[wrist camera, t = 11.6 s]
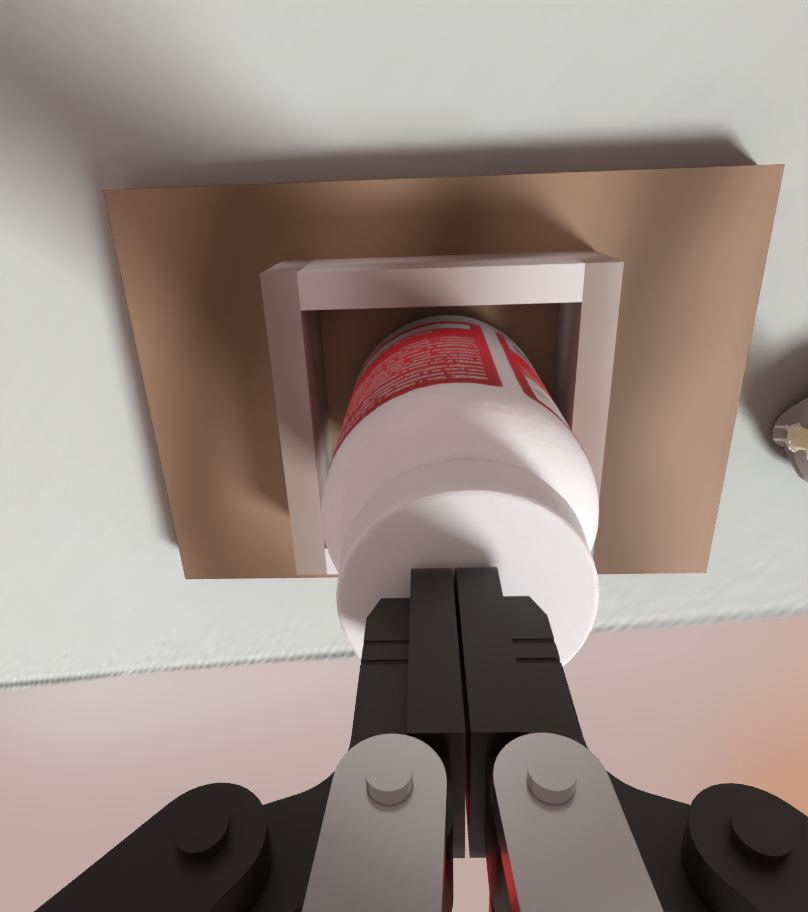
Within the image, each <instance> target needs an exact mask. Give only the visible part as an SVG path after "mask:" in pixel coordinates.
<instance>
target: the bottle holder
mask: <svg viewBox="0 0 808 912" xmlns="http://www.w3.org/2000/svg"><path fill="white" fill-rule="evenodd" d="M784 165H785V164H776V165H749V166H723V167H697V168H671V169H644V170H618V171H592V172H566V173H540V174H513V175H487V176H461V177H435V178H408V179H382V180H356V181H330V182H304V183H277V184H251V185H225V186H199V187H172V188H146V189H120V190H103V192H104V197H105V202H106V206H107V211H108V216H109V221H110V225H111V230H112V235H113V240H114V244H115V249H116V254H117V258H118V263H119V268H120V273H121V277H122V282H123V287H124V291H125V296H126V301H127V306H128V310H129V315H130V320H131V325H132V329H133V334H134V339H135V343H136V348H137V353H138V358H139V362H140V367H141V372H142V376H143V381H144V386H145V391H146V395H147V400H148V405H149V410H150V414H151V419H152V424H153V428H154V433H155V438H156V443H157V447H158V452H159V457H160V461H161V466H162V471H163V476H164V480H165V485H166V490H167V495H168V499H169V504H170V509H171V513H172V518H173V523H174V528H175V532H176V537H177V542H178V546H179V551H180V556H181V561H182V565H183V570H184V575H185V579H238V578H319V577H339V573H338V572H337V570H336V568H335V566H334V564H333V562H332V560H331V557H330V555H329V552H328V549H327V546H326V543H325V539H324V534H323V528H322V516H321V507H322V497H323V491H324V486H325V482H326V477H327V474H328V471H329V467H330V463H331V460H332V457H333V454H334V451H335V448H336V445H337V442H338V438H339V435H340V432H341V428H342V426H343V422H344V419H345V416H346V413H347V410H348V406H349V403H350V400H351V397H352V393H353V390H354V387H355V383H356V381H357V378H358V375H359V373H360V371H361V369H362V367H363V365H364V363H365V361H366V359H367V358H368V357H369V355H370V354H371V352H372V351H373V350H374V349H375V347H376V346H377V345H378V344H379V343H380V342H381V341H382V340H384V339H385V338H386V337H387V336H388V335H389V334H391V333H392V332H394V331H395V330H397V329H399V328H401V327H402V326H404V325H406V324H408V323H410V322H413V321H416V320H418V319H422V318H426V317H431V316H440V315H453V316H464V317H469V318H473V319H476V320H479V321H482V322H484V323H487V324H489V325H491V326H492V327H494V328H496V329H498V330H500V331H501V332H503V333H504V334H506V335H507V336H508V337H509V338H510V339H512V340H513V341H514V343H515V344H516V345H517V346H518V347H519V348H520V349H521V350H522V351H523V353H524V354H525V355H526V357H527V358H528V360H529V361H530V363H531V364H532V366H533V368H534V369H535V371H536V373H537V375H538V376H539V378H540V380H541V382H542V383H543V385H544V386H545V388H546V390H547V391H548V393H549V395H550V396H551V398H552V400H553V401H554V403H555V405H556V406H557V408H558V409H559V411H560V413H561V414H562V416H563V418H564V420H565V421H566V423H567V424H568V426H569V427H570V429H571V431H572V432H573V434H574V435H575V437H576V438H577V440H578V442H579V443H580V444H581V446H582V448H583V450H584V453H585V455H586V457H587V459H588V462H589V464H590V466H591V469H592V472H593V475H594V478H595V482H596V486H597V492H598V500H599V519H598V529H597V534H596V538H595V541H594V544H593V547H592V550H591V555H592V558H593V560H594V563H595V567H596V571H597V574H645V573H706V570H707V565H708V559H709V554H710V549H711V544H712V539H713V534H714V528H715V523H716V518H717V513H718V508H719V502H720V497H721V492H722V487H723V482H724V476H725V471H726V466H727V461H728V456H729V451H730V445H731V440H732V435H733V430H734V425H735V419H736V414H737V409H738V404H739V399H740V393H741V388H742V383H743V378H744V373H745V368H746V362H747V357H748V352H749V347H750V342H751V336H752V331H753V326H754V321H755V316H756V310H757V305H758V300H759V295H760V290H761V285H762V279H763V274H764V269H765V264H766V259H767V253H768V248H769V243H770V238H771V233H772V227H773V222H774V217H775V212H776V207H777V202H778V196H779V191H780V186H781V181H782V176H783V170H784Z"/></svg>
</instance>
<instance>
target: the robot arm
mask: <svg viewBox="0 0 808 912" xmlns="http://www.w3.org/2000/svg"><path fill="white" fill-rule="evenodd" d="M465 799H466V811H467V826H468V840H469V853H470V858H471V857H472V858H475V857H478V858H479V857H480V858H484V857H485V858H486V860H487V871H488V881H489V891H490V893H489V912H808V817H807V816H806V815H804V814H803V813H802V812H800V811H799V810H797V809H796V808H794V807H793V806H791V805H790V804H788V803H786V802H785V801H783V800H782V799H780V798H778V797H777V796H775V795H772V794H770V793H768V792H766V791H763V790H761V789H758V788H755V787H752V786H747V785H742V784H733V783H729V784H728V783H727V784H718V785H714V786H711V787H708V788H706V789H704V790H703V791H701V792H700V793H699V794H698V795H697V796H696V797H695V798H694V800H693V801H692V804H691V805H689V804H685V803H681V802H678V801H675V800H671V799H667V798H664V797H661V796H657V795H653V794H650V793H647V792H644V791H641V790H638V789H636V788H633V787H631V786H629V785H627V784H625V783H623V782H622V781H620V780H619V779H617V778H615V777H614V776H613V775H611V774H610V773H609V772H607V771H606V770H605V768H604V766H603V765H602V763H601V762H600V761H599V759H598V758H597V757H596V756H595V755H594V754H593V753H592V752H591V751H590V750H589V749H588V747H587V746H586V743H585V741H584V738H583V735H582V731H581V728H580V725H579V722H578V718H577V714H576V711H575V707H574V704H573V701H572V697H571V694H570V691H569V687H568V684H567V681H566V677H565V673H564V670H563V667H562V663H560V656H559V653H558V650H557V646H556V643H554V636H553V633H552V629H551V626H550V622H549V619H548V615H547V614H546V613H545V612H544V611H543V610H542V609H541V608H540V607H539V606H538V605H537V604H536V603H535V601H534V600H533V599H532V598H531V597H530V596H503V593H502V588H501V583H500V578H499V573H498V569H497V567H469V568H455V598H454V585H453V573H452V568H419V569H411V582H410V598H381V599H380V600H379V602H378V603H377V604H376V606H375V607H374V608H373V610H372V611H371V612H370V614H369V615H368V616H367V618H366V625H365V633H364V645H363V649H362V657H361V665H360V673H359V681H358V689H357V697H356V705H355V712H354V721H353V728H352V736H351V742H350V747H349V749H348V752H347V753H346V754H345V755H344V756H343V758H342V759H341V761H340V762H339V764H338V766H337V767H336V770H335V772H334V773H332V774H331V775H330V776H329V777H328V778H327V779H326V780H324V781H323V782H321V783H320V784H319V785H317V786H315V787H313V788H311V789H309V790H307V791H305V792H302V793H300V794H297V795H293V796H290V797H287V798H284V799H281V800H277V801H274V802H271V803H268V804H265V805H262V804H261V802H260V800H259V799H258V798H257V797H256V796H255V794H254V793H252V792H251V791H249V790H248V789H246V788H244V787H242V786H239V785H236V784H231V783H213V784H208V785H204V786H200V787H197V788H195V789H192V790H189V791H188V792H186V793H184V794H182V795H180V796H179V797H177V798H176V799H175V800H173V801H172V802H170V803H169V804H168V805H166V806H165V807H164V808H163V809H161V810H160V811H159V812H158V813H156V814H155V815H154V816H153V817H152V818H150V819H149V820H148V821H146V822H145V823H144V824H143V825H141V826H140V827H139V828H138V829H137V830H135V831H134V832H133V833H132V834H130V835H129V836H128V837H127V838H125V839H124V840H123V841H122V842H120V843H119V844H118V845H117V846H115V847H114V848H113V849H112V850H110V851H109V852H108V853H107V854H105V855H104V856H103V857H102V858H101V859H99V860H98V861H97V862H95V863H94V864H93V865H92V866H90V867H89V868H88V869H87V870H86V871H84V872H83V873H82V874H80V875H79V876H78V877H77V878H76V879H74V880H73V881H72V882H71V883H69V884H68V885H67V886H65V887H64V888H63V889H62V890H61V891H59V892H58V893H57V894H55V895H54V896H53V897H52V898H51V899H49V900H48V901H47V902H46V903H44V904H43V905H42V906H40V907H39V908H38V909H37V910H36V911H34V912H452V907H453V858H465Z"/></svg>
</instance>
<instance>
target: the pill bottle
mask: <svg viewBox="0 0 808 912" xmlns="http://www.w3.org/2000/svg"><path fill="white" fill-rule="evenodd" d="M321 516H322V528H323V534H324V539H325V543H326V546H327V549H328V552H329V555H330V557H331V560H332V562H333V564H334V566H335V568H336V570H337V572H338V573H339V577H338V585H337V610H338V615H339V619H340V623H341V626H342V629H343V632H344V634H345V636H346V638H347V640H348V643H349V645H350V646H351V647H352V649H353V650H354V652H355V653H356V655H357V656H358V657H359V658H360V659H361V657H362V649H363V645H364V633H365V625H366V618H367V616H368V615H369V614H370V612H371V611H372V610H373V608H374V607H375V606H376V604H377V603H378V602H379V600H380V599H381V598H410V582H411V569H419V568H452V573H453V585H454V598H455V568H469V567H497V569H498V573H499V578H500V583H501V588H502V593H503V596H530V597H531V598H532V599H533V600H534V601H535V603H536V604H537V605H538V606H539V607H540V608H541V609H542V610H543V611H544V612H545V613H546V614H547V615H548V619H549V622H550V626H551V629H552V633H553V636H554V643H556V646H557V650H558V653H559V656H560V663H562V667H563V666H564V665H565V664H566V663H567V662H569V661H570V659H571V658H572V657H573V656H574V655H575V654H576V653H577V651H578V650H579V649H580V648H581V646H582V645H583V643H584V642H585V640H586V638H587V637H588V635H589V633H590V631H591V629H592V626H593V623H594V620H595V617H596V614H597V608H598V602H599V583H598V575H597V571H596V567H595V563H594V560H593V558H592V555H591V550H592V547H593V544H594V541H595V538H596V534H597V529H598V519H599V500H598V492H597V486H596V482H595V478H594V475H593V472H592V469H591V466H590V464H589V462H588V459H587V457H586V455H585V453H584V450H583V448H582V446H581V444H580V443H579V442H578V440H577V438H576V437H575V435H574V434H573V432H572V431H571V429H570V427H569V426H568V424H567V423H566V421H565V420H564V418H563V416H562V414H561V413H560V411H559V409H558V408H557V406H556V405H555V403H554V401H553V400H552V398H551V396H550V395H549V393H548V391H547V390H546V388H545V386H544V385H543V383H542V382H541V380H540V378H539V376H538V375H537V373H536V371H535V369H534V368H533V366H532V364H531V363H530V361H529V360H528V358H527V357H526V355H525V354H524V353H523V351H522V350H521V349H520V348H519V347H518V346H517V345H516V344H515V343H514V341H513V340H512V339H510V338H509V337H508V336H507V335H506V334H504V333H503V332H501V331H500V330H498V329H496V328H494V327H492V326H491V325H489V324H487V323H484V322H482V321H479V320H476V319H473V318H469V317H464V316H453V315H440V316H431V317H426V318H422V319H418V320H416V321H413V322H410V323H408V324H406V325H404V326H402V327H401V328H399V329H397V330H395V331H394V332H392V333H391V334H389V335H388V336H387V337H386V338H385V339H384V340H382V341H381V342H380V343H379V344H378V345H377V346H376V347H375V349H374V350H373V351H372V352H371V354H370V355H369V357H368V358H367V359H366V361H365V363H364V365H363V367H362V369H361V371H360V373H359V375H358V378H357V381H356V383H355V387H354V390H353V393H352V397H351V400H350V403H349V406H348V410H347V413H346V416H345V419H344V422H343V426H342V428H341V432H340V435H339V438H338V442H337V445H336V448H335V451H334V454H333V457H332V460H331V463H330V467H329V471H328V474H327V477H326V482H325V486H324V491H323V497H322V507H321Z"/></svg>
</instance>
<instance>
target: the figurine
mask: <svg viewBox="0 0 808 912" xmlns="http://www.w3.org/2000/svg"><path fill="white" fill-rule="evenodd" d="M772 438H773V440H774V442H775V444H778V445H780V446H782V447H785V452H786V455H787V457H788V459H789V460H790V462H791V464H792V466H793V467H794V469H795V471H796V473H797V474H798V476H799V477H800V478H802V479H803V480H805V481H807V482H808V397H806V398H805V399H803V400H802V401H801V402H799V403H798V404H796V405H794V406H792V407H790V408H789V409H788V410H786V411H785V412H784V413H783V414H782V415H781V416H780V417H779V418H778V419H777V421H776V422H775V424H774V427H773V432H772Z"/></svg>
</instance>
